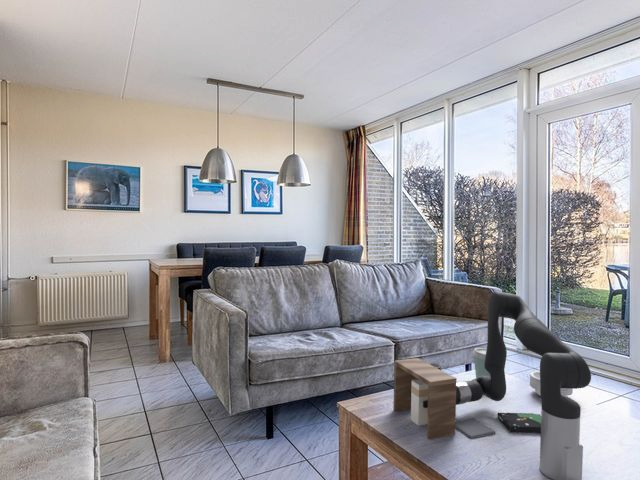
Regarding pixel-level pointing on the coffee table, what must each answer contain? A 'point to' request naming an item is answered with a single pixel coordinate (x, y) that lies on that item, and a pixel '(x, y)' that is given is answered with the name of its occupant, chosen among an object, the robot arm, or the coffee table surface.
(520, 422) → the disk drive
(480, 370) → the disposable coffee cup
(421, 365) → the shelf bay
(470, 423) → the mat
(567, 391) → the paper bowls
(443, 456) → the coffee table surface
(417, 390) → the carton
